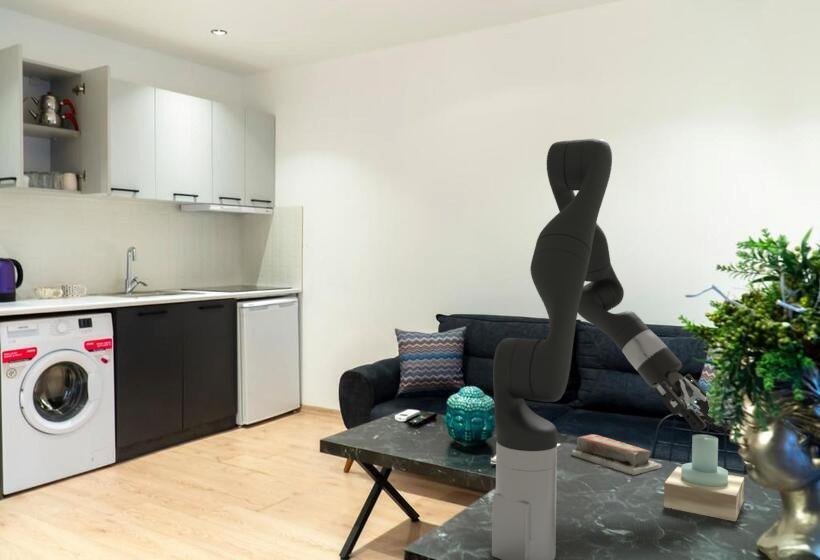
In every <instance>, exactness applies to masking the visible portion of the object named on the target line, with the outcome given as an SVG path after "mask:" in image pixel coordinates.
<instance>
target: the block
mask: <svg viewBox="0 0 820 560" xmlns="http://www.w3.org/2000/svg"><path fill="white" fill-rule="evenodd" d="M681 467H682V466H678V465H677V466H676V468H675V469H674V470H673V471H672V472H671V474H670V475H669V477H667V479H666V480H665V482H664V485H663V487H664V490H663V507H664V508H668V509H671V508H672V510H677V511H681V512H685V513H686V512H687V513H692V514H696V515H697V514H698V515H703V516H707V517H713V518H716V519H722V520H726V521H731V522H732V521H733V522H737V519H738V517H739V514H740V512H741V509H742V507H743V505H744V500H745V477H744V476H738V475H732V474H728V484H727V485H725V486H721V487H707V486H700V485H695V484H692V483H689V482H686V481H685V480H683V479H682V478H681Z"/></svg>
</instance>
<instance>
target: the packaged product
mask: <svg viewBox="0 0 820 560" xmlns="http://www.w3.org/2000/svg"><path fill="white" fill-rule="evenodd" d="M570 455H571V456H572V457H573V456H574V457H576V458H579V459H583V460H586V461H589V462H592V463H595V464H597V465H600V466H602V467H603V466H604V467H606V466H607V468H609V467H610V468H609V469H612V468H613V470H616V471H619V472H622V473H625V474H629V475H631V474H632V476H637V475H639V474H640V473H641V474H645V473H649V472H651V471H654V470H660V469H661V468H662V466H663V463H659V462H656V461H652V460H649V459H650V457H651V455H652V452H651V451H650V450H648V449H645V448H641V447H639V446H635V445H631V444H628V443H626V442H622V441H618V440H615V439H612V438H609V437H606V436H605V437H604V436H602V435H599V434H594V433H593V434H592V433H591V434H587V435H582V436H579V437H578V438H576V447H575V449H572V450H571V454H570Z"/></svg>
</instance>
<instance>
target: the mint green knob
mask: <svg viewBox="0 0 820 560" xmlns="http://www.w3.org/2000/svg"><path fill="white" fill-rule="evenodd" d="M691 438H692V440H691V441H692V443H691V445H692V446H691V462H687V463H683V464H682V465H681V466H680V467H681V478H682V479H683V480H685V481H686V482H689V483H692V484H695V485H700V486H707V487H721V486H725V485H727V484H728V475H729V470H727V469H726V468H723V467H722V466H718V463H719V462H718V456H719V455H718V454H719V438H718V437H716V436H714V435H710V434H709V435H708V434H692V437H691Z"/></svg>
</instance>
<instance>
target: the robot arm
mask: <svg viewBox="0 0 820 560" xmlns="http://www.w3.org/2000/svg"><path fill="white" fill-rule="evenodd" d="M612 164H613V152H612V149H611V146H610V144H609V143H608V141H606V140H605V139H602V138H583V139H571V140H561V141H555V142H554V143H552V144H551V145H550V147H549V149H548V151H547V155H546V172H547V179H548V183H549V186H550V189H551V191H552V194H553V197H554V199H555V203H556V205H557V208H558V211H559V212H558V213H557V214H556V215H554V217H553V218H552V219H551V220H550V221H549V222H548V223H547V224H546V225H545V226H544V227H543V229H542V230H541V232H540V233H539V235H538V237H537V239H536V243H535V246H534V251H533V255H532V258H531V263H530V267H529V268H530V275H531V279H532V282H533V284H534V287H535V289H536V291H537V293H538V295H539V297H540V299H541V302H542V304H543V305H544V307H545V310H546V313H547V315H548V319H549V330H548V334H547V337H546V339H536V338H535V339H533V338H523V337H522V338H519V337H506V338H503V339H502V340H500V342H499V343H498V344H497V347H496V349H495V351H494V357H493V365H492V366H493V367H492V377H493V378H492V381H493V382H492V383H493V385H492V386H493V402H494V403H493V405H494V408H493V409H494V410H493V411H494V415H493V416H494V425H495V426H494V427H495V433H496V448H495V449H496V452H495V453H496V454H495V493H494V494H493V495H492V513H491V515H492V516H491V517H492V522H491V525H492V526H491V527H492V528H491V529H492V531H491V533H492V534H491V556H492V557H494V558H497V559H499V560H555V558H556V553H557V552H556V546H557V545H556V543H557V542H556V541H557V534H556V533H557V530H556V529H557V474H558V473H557V472H558V471H557V468H558V467H557V463H558V429H557V427H556V425H555V424H554V423H553V422H551V421H549V420H548V419H545V418H544V417H542V416H540V415H539V414H536V413H535V411H533V410H532V409H531V408H530V407H529V406H528V405H527V404H526V402H525V400H530V401H539V402H547V403H548V402H549V403H550V402H552V403H553V402H557V401H559V400H561V399H562V397H563V395H564V394H565V392H566V389H567V386H568V381H569V376H570V371H571V364H572V356H573V348H574V346H573V345H574V342H575V341H574V339H575V333H576V325H577V317H578V315H579V316H580V317H582V318H583V319H584V320H585V321H586V322H588V323H589V324H591V325H592V326H595V327H596V328H597V329H599V330H600V331H601V332H602V333H604V334H606V335H607V336H608V337H609V338H610V339H611V340H612V342H613V343H614V344H615V345H616V346H617V348H618V349H619V350H620V351H621V352H622V354H624V356H625V357H626V359H627V361H628V362H629V363H630V365H632V367H633V368H634V369H635V370H636V372H638V374H639V375H640V376H641V377H642V378H643V380H644V381H645V382H646V383H647V385H648V386H649V387H650V388H654V389H653V391H654V393H655V395H657V397H659V399H660V400H661V401H662V403H663V404H664V405H665V406H666V407H667V409H668V410H669V412H671V414H672V415H674V416H677V415H678V416H679V417H683V419H684V420H685V421H686V422H687V423H688V425H689V426H690V427H691V429H693V430H694V431H695V433H696V432H697V433H699V432H701V431H703V430H704V429H705V428H706V427H707V424H706V422H705V421H704V420H703V418H701V417H700V415H699V414H698V412H696V411H695V410H694V408H692V406H691V405H693V406H694V407H696V408H697V409H699V411H700V413H701V414H702V415H703V416H704V417H705V418H706V420H708V421H709V423H710V424H711V425H714V424H713V420H712V419H711V418H710V417H709V416H708V415H707V414H708V410H709V407H708V403H709V402H708V400H707V397H706V393H708V392H707V391H706V390H705V389H704V388H703V386H701V385H700V384H699V382H697V380H696V379H694V377H693V376H692V375H691V374H690V373H687V374H686V375H684V376H683V375H682V374H681V373H680V370H681V369H682V368H683V364H682V362H681V360H680V359H679V358H678V357H677V356H676V355H675V354H674V352H672V350H671V349H670V348H669V347H668V346H667V345H666V344H665V343H664V342H663V341H662V339H661V338H660V337H659V336H657V334H655V333H654V332H653V331H652V330H651V329H650V328H649V327H648V326H647V324H646V323H644V322H645V321H643V319H641V318H640V317H639V316H638V315H637V313H635V311H632V310H627V311H626V310H625V311H622V312H619V313H612V312H610V310H612V309H614V308H616V307H617V306H619V305H620V304H621V303H622V301H623V299H624V296H625V295H624V294H625V292H624V291H625V290H624V287H623V285H622V283H621V282H620V280H619V278H618V277H617V274H616V272H615V270H614V268H613V265H612V264H611V257H610V250H609V243H608V240H607V237H606V234H605V232H604V231H603V229H602V228H601V227H600V225H599V224H598V223H597V221H598V217H599V213H600V209H601V207H602V204H603V201H604V198H605V194H606V191H607V188H608V186H609V185H608V184H609V180H610V178H611V173H612ZM575 191H577V193H576V194H575ZM585 282H588V283H586V284H585Z"/></svg>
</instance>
